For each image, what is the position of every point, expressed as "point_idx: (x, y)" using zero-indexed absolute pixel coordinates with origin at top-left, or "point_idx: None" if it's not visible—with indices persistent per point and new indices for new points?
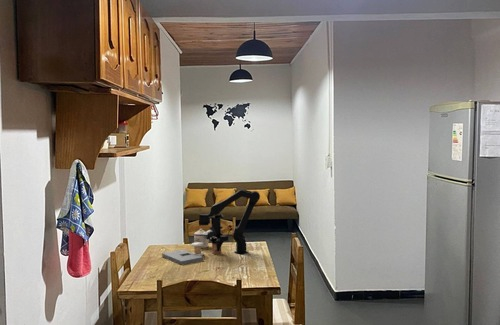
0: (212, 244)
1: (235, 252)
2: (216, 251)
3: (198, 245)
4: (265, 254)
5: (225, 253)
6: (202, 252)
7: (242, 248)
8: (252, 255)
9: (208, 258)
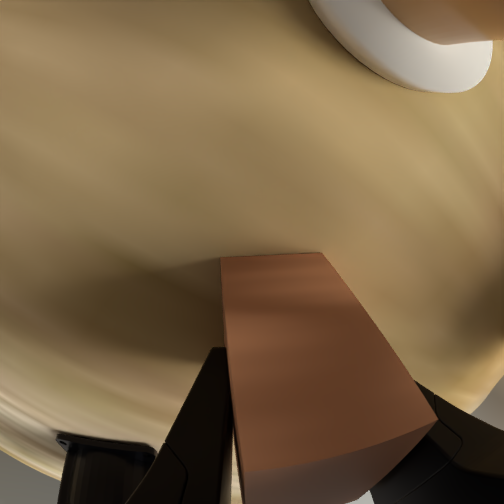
0: (411, 408)
1: (127, 447)
2: (224, 323)
3: None
4: (34, 468)
5: (171, 392)
6: (432, 83)
7: (60, 486)
8: (19, 441)
9: (35, 13)
